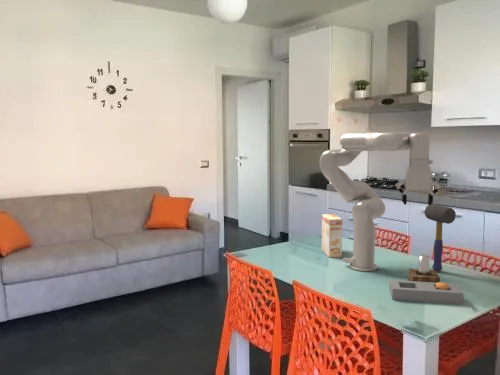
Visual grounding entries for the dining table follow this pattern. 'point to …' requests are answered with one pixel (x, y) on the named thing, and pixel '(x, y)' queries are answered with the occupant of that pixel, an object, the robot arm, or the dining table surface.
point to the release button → (441, 286)
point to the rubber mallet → (439, 229)
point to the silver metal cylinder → (424, 265)
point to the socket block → (424, 292)
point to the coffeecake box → (332, 235)
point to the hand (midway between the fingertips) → (417, 204)
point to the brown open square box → (423, 276)
